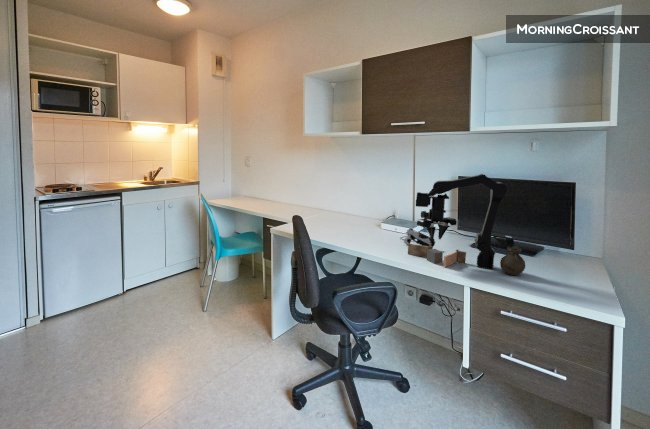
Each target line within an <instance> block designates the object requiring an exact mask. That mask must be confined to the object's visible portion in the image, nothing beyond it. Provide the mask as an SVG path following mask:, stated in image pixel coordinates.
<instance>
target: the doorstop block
mask: <svg viewBox="0 0 650 429" xmlns="http://www.w3.org/2000/svg"><path fill="white" fill-rule="evenodd" d="M443 253H444V252H443V251H441V250H439V249H436V248H433V249H428V250H427V257H426V261H427V262H430V263H432V264H433V265H435V264H443V259H444V257H443V256H444V254H443Z"/></svg>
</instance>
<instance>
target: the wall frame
mask: <svg viewBox="0 0 650 429" xmlns="http://www.w3.org/2000/svg"><path fill="white" fill-rule="evenodd" d="M407 246H408V247H407V255H410V256H411V255H412V256H417V257H421V258H423V257H424V258H427V250H428V249H432V246H430V245H429V246H422V245H420V244H415V243H410V244H408V245H407ZM455 252H457V262H456V263H459V264H466V258H467V252H466V251H461V250H459V249H455Z"/></svg>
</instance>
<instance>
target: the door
mask: <svg viewBox="0 0 650 429" xmlns="http://www.w3.org/2000/svg"><path fill="white" fill-rule="evenodd" d="M443 256H444V257H443V267H444V268H446V267H449V266H450V265H451V266H452V265H454V264H455V263H458V262H457V252H456V251H453V252H451V253H448V254H446V255H443Z"/></svg>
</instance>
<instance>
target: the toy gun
mask: <svg viewBox="0 0 650 429" xmlns="http://www.w3.org/2000/svg"><path fill="white" fill-rule="evenodd" d="M405 234H406V235H407V236H405V238H404V239H403V243H404V244H406V246H408V244H411V242H412V241H413V242H414V243H416V245H422V246H429V245H430V246H432V249H434V247H435V246H436V241H435V238H433V240H431V238H430V236H427V235H426V234H423V233H421V232H419V231H417V230H415V229H414V228H408V229H407V230H406V232H405Z"/></svg>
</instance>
